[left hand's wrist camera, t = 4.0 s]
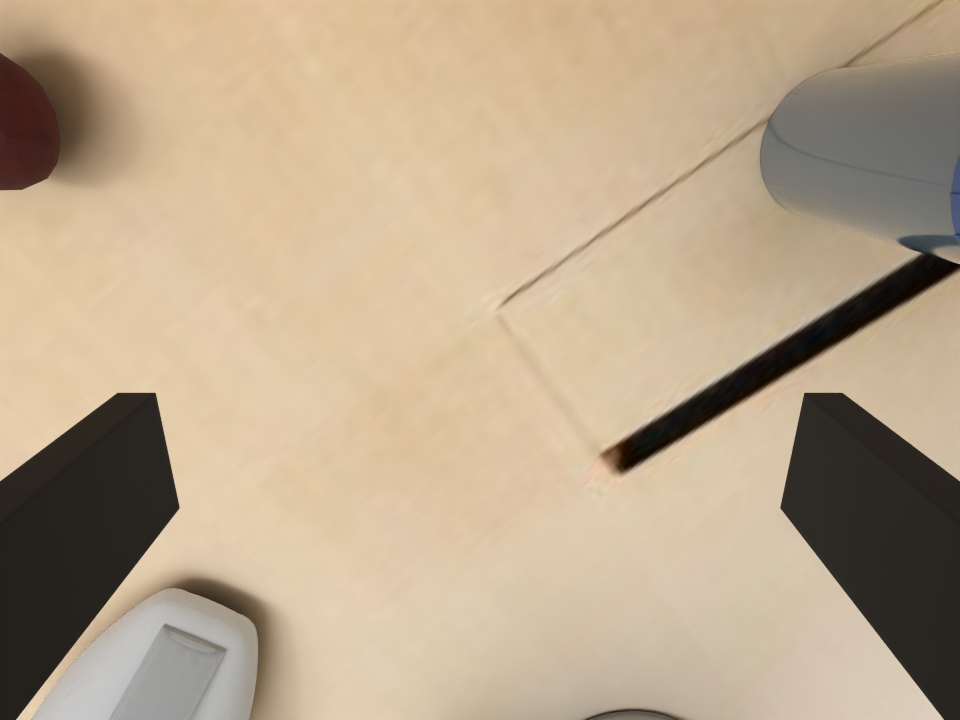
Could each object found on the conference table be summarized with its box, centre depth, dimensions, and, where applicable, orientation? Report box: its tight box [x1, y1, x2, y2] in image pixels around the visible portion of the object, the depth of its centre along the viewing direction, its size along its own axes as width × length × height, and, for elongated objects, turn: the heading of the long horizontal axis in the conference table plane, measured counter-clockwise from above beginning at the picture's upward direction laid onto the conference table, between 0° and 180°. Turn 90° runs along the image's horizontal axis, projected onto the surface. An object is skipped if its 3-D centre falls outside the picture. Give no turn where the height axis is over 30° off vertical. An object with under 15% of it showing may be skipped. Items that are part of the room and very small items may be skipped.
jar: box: [760, 51, 960, 264], centre depth 29 cm, size 9×9×18 cm
